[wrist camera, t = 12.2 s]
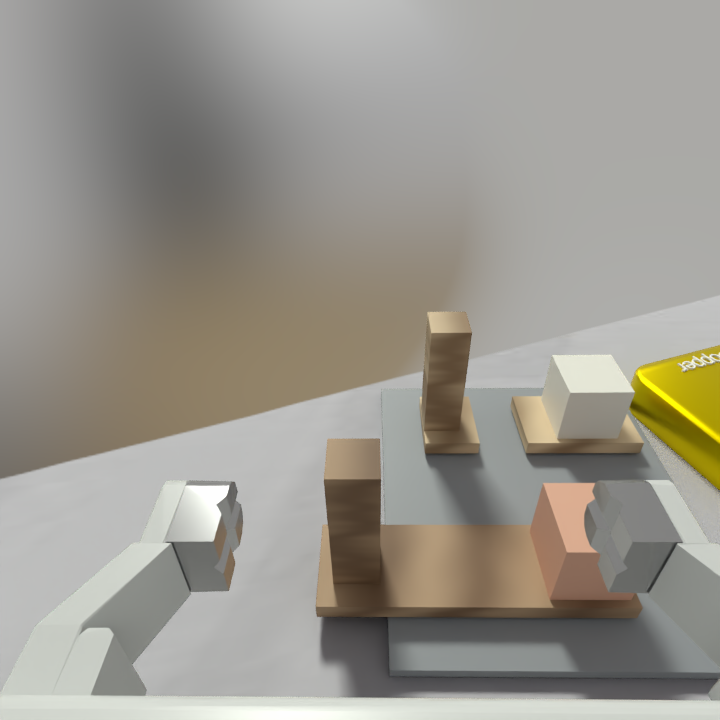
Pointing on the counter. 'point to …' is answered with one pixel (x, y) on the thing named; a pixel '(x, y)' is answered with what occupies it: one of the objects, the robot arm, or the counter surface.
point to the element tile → (683, 407)
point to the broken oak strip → (454, 413)
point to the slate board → (515, 507)
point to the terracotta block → (568, 544)
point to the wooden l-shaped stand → (427, 558)
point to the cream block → (586, 396)
